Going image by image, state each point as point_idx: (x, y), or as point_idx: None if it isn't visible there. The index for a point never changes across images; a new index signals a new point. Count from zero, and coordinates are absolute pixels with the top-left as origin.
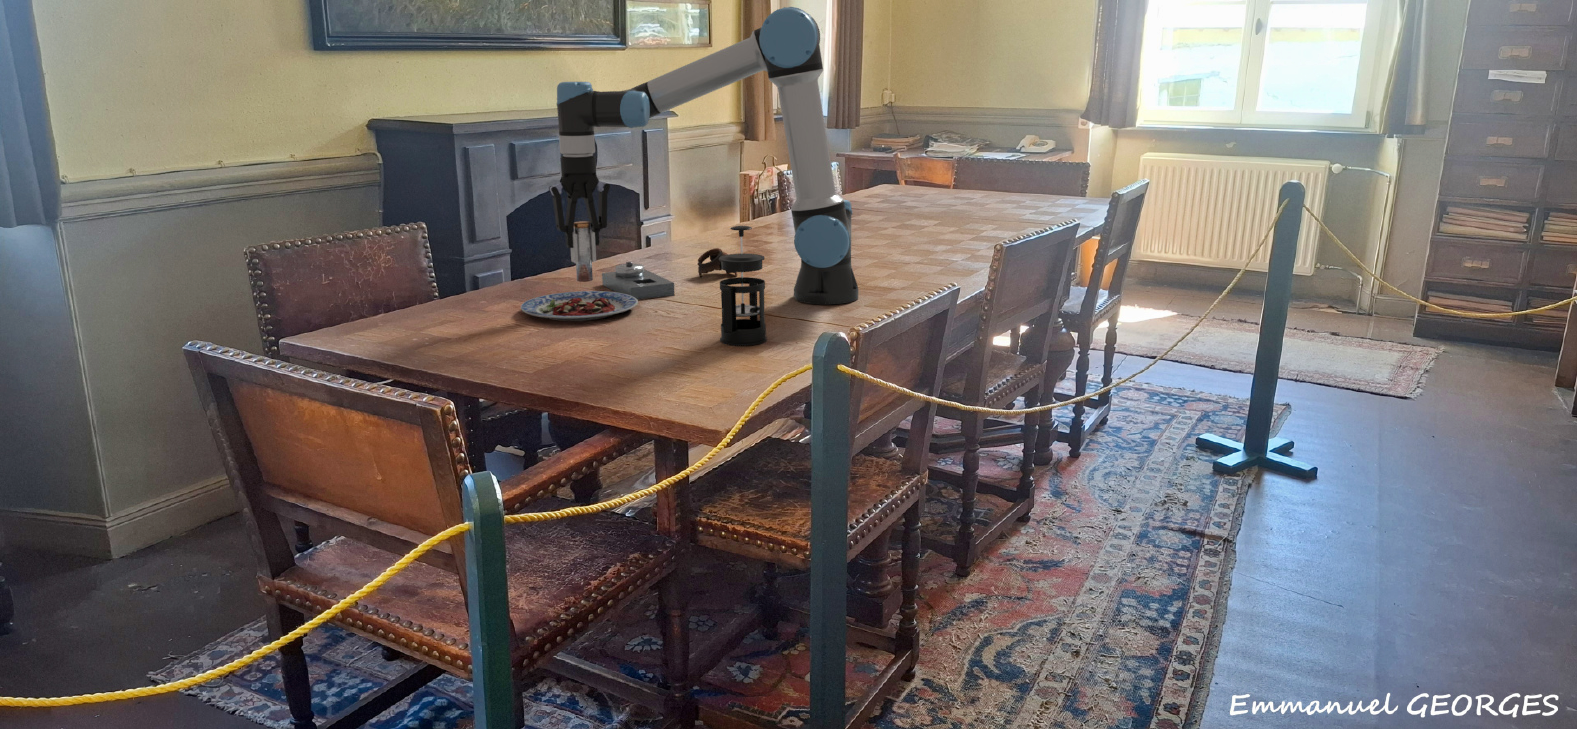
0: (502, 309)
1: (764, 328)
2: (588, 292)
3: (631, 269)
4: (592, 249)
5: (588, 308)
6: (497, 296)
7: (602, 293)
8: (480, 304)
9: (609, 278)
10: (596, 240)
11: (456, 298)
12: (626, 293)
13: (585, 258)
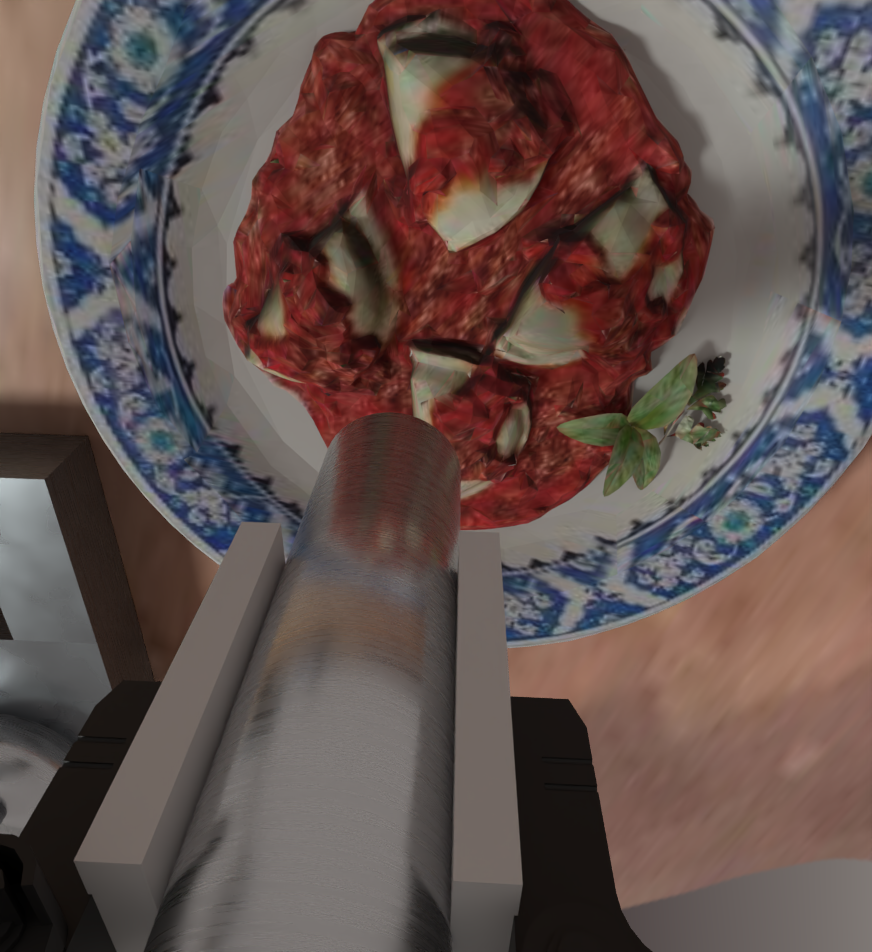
0: (824, 600)
1: None
2: None
3: None
4: (240, 622)
5: (495, 90)
6: (689, 809)
7: None
8: (841, 730)
9: None
10: (119, 743)
11: (849, 849)
12: (91, 516)
13: (369, 541)
